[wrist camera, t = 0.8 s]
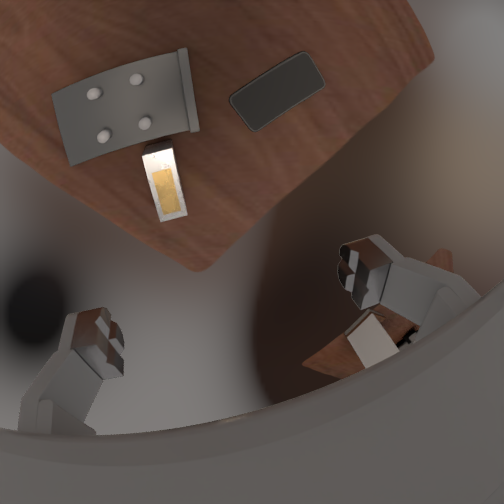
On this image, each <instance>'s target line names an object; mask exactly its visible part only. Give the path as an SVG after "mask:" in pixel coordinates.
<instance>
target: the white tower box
mask: <svg viewBox="0 0 504 504" xmlns="http://www.w3.org/2000/svg"><path fill="white" fill-rule="evenodd" d="M384 319H385V317H384V315H383V314H381V313H378V312H376V311H373V310H370V309H368V310H367V311H366V312H365V313H364V314H363V315H362V316H361V317H360V318H359V319H358V320H357V321H356V322H355V323H354V324H353V325H352V326H351V327H350V328H349V329H348V330H347V331H346V332H345V335H346V337H347V338H348V340H349V341H350V343H351V345H352V346H353V348H354V350H355V351H356V353H357V355H358V356H359V358H360V359H361V361H362V363H363V364H364V366H365V368H368V367H370V366H372V365H374V364H376V363H378V362H380V361H382V360H384V359H386V358H388V357H390V356H392V355H394V354H396V353H397V352H399V349H398V348H397V347H396V345H395V344H394V342H393V341H392V339H391V338H390V336H389V335H388V334H387V332H386V331H385V329H384V328H383V327H382V325H381V324H380V323H381V322H382V321H383V320H384Z"/></svg>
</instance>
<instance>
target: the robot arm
mask: <svg viewBox="0 0 504 504" xmlns="http://www.w3.org/2000/svg"><path fill="white" fill-rule="evenodd" d="M339 255H340V256H341V258H342V260H341V261H340V263H339V264H338V276H339V280H340V282H341V284H342V286H343V287H344V288H345V289H346V290H348V291H351V292H352V295H351V298H352V299H353V300H354V302H355V303H356V304H357V305H358V307H359V308H360V310H362V309H365V308H367V307H370V306H373V305H375V304H378V303H380V304H381V305H383V306H385V307H387V308H388V309H390V310H392V311H394V312H396V313H398V314H399V315H401V316H403V317H405V318H407V319H408V320H410V321H412V322H414V323H416V324H417V325H419V326H420V328H419V330H418V332H417V334H416V337H415V339H416V341H417V342H415V343H413V344H412V345H410V346H408V347H406V348H405V349H403V350H401V351H399V352H397V353H396V354H394V355H392V356H390V357H388V358H386V359H384V360H382V361H380V362H378V363H376V364H374V365H372V366H370V367H368V368H366V369H364V370H362V371H360V372H358V373H356V374H353V375H351V376H349V377H347V378H345V379H342V380H340V381H338V382H335V383H333V384H330V385H328V386H326V387H323V388H321V389H318V390H315V391H313V392H310V393H307V394H305V395H302V396H299V397H296V398H294V399H291V400H288V401H285V402H282V403H279V404H276V405H272V406H269V407H266V408H263V409H259V410H256V411H252V412H248V413H245V414H241V415H237V416H233V417H229V418H225V419H221V420H216V421H212V422H207V423H202V424H197V425H191V426H186V427H180V428H174V429H167V430H159V431H151V432H142V433H131V434H116V435H96V431H95V430H94V429H92V428H91V427H89V426H87V425H86V424H84V421H85V418H86V416H87V414H88V412H89V410H90V408H91V405H92V403H93V401H94V399H95V397H96V395H97V393H98V391H99V389H100V387H101V385H102V383H103V380H105V379H111V378H117V377H122V376H124V360H123V358H122V357H121V356H120V355H121V353H122V351H123V350H124V339H123V334H122V332H121V329H120V327H119V326H118V324H117V323H115V322H113V321H111V314H110V312H109V311H108V309H107V308H105V307H101V308H96V309H92V310H86V311H82V312H78V313H74V314H69V315H68V316H67V317H66V320H65V323H64V328H63V331H62V336H61V340H60V344H59V349H58V352H54V354H53V355H52V356H51V358H50V359H49V360H48V362H47V363H46V364H45V366H44V367H43V368H42V370H41V371H40V373H39V374H38V375H37V377H36V378H35V380H34V381H33V382H32V384H31V385H30V387H29V388H28V390H27V391H26V393H25V394H24V396H23V397H22V399H21V407H20V413H19V421H18V431H17V430H10V429H4V428H0V504H504V279H503V280H502V281H501V282H500V283H498V284H497V285H496V286H495V287H494V288H492V289H491V290H490V291H489V292H488V293H486V294H485V295H484V296H483V297H481V296H480V295H479V294H478V293H477V292H476V291H475V290H474V289H473V288H472V287H471V286H470V285H469V284H468V283H467V282H466V281H465V280H464V279H463V278H462V277H461V276H459V275H456V274H453V273H451V272H448V271H445V270H443V269H440V268H437V267H434V266H432V265H429V264H426V263H423V262H420V261H418V260H415V259H412V258H409V257H407V258H404V257H403V256H402V255H401V254H400V253H399V252H398V251H397V250H396V249H394V248H393V247H392V246H391V245H390V244H389V243H388V242H387V241H386V240H384V239H383V238H382V237H381V236H380V235H377V234H375V235H372V236H369V237H366V238H364V239H361V240H357V241H353V242H350V243H347V244H344V245H342V246H341V248H340V252H339Z"/></svg>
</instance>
